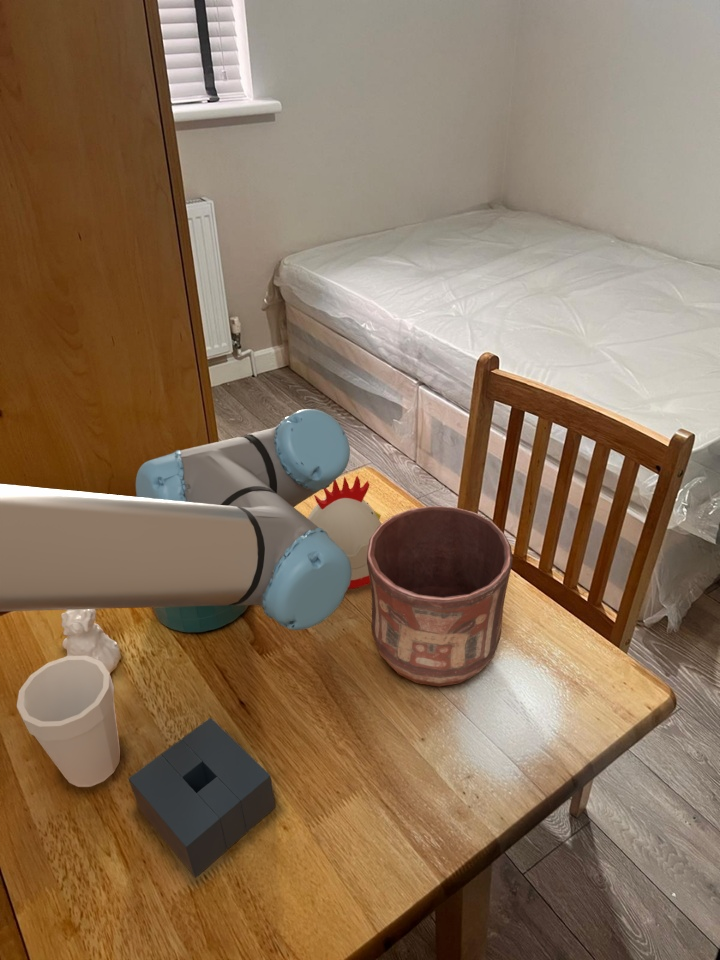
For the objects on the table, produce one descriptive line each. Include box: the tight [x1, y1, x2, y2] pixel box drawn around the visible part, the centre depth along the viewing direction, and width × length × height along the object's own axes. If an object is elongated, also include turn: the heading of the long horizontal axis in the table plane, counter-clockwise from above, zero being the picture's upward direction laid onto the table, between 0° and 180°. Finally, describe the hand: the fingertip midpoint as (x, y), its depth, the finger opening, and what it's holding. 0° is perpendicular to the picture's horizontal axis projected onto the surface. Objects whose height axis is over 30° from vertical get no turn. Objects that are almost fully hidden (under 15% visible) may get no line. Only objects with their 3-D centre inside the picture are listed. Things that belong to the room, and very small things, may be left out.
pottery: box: [367, 505, 514, 687], centre depth 92 cm, size 18×18×18 cm
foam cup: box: [16, 655, 121, 788], centre depth 81 cm, size 10×9×13 cm
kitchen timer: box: [306, 475, 382, 590], centre depth 109 cm, size 14×14×15 cm
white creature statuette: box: [60, 609, 122, 674], centre depth 93 cm, size 10×9×12 cm
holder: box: [128, 717, 276, 879], centre depth 78 cm, size 11×11×6 cm
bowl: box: [151, 605, 250, 633], centre depth 105 cm, size 15×15×6 cm
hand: (198, 536), depth 98 cm, fingers open, 13 cm apart
